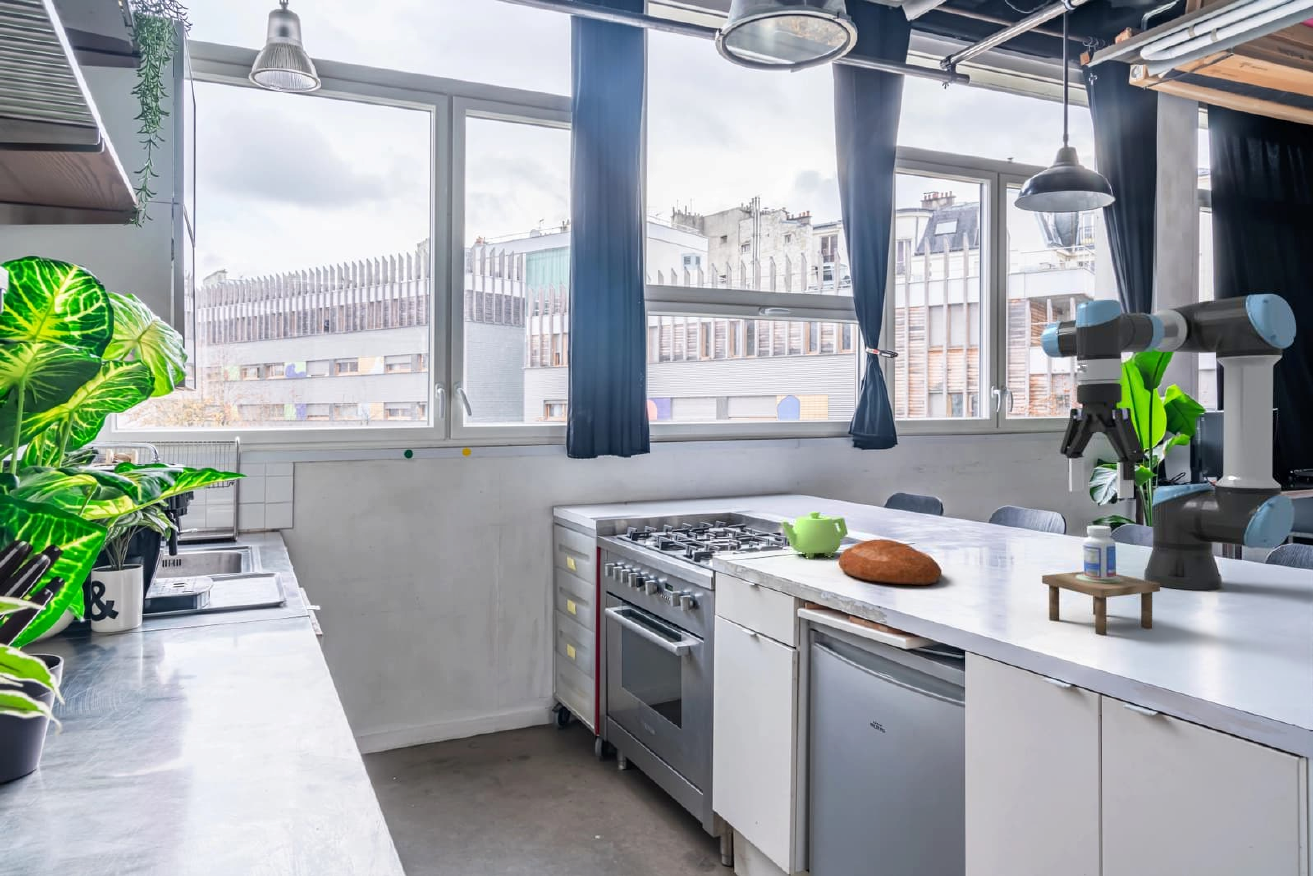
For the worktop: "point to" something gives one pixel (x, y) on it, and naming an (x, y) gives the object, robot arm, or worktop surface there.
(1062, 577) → the small wooden table
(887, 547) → the bread
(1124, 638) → the worktop surface
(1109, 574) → the pill bottle
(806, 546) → the teapot
